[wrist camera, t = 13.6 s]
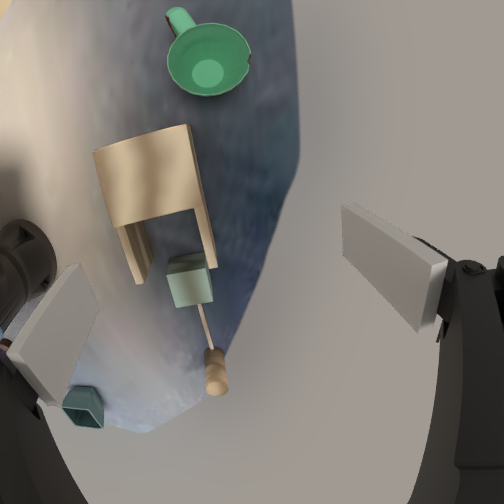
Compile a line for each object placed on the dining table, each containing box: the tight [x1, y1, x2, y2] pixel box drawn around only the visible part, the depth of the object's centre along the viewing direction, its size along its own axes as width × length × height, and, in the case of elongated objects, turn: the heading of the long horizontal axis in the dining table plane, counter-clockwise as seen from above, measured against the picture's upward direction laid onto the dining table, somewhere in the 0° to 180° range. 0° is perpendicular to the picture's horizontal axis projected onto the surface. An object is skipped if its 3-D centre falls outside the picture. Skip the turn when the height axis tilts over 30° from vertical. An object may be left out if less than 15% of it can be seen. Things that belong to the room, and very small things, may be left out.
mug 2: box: [165, 7, 251, 97], centre depth 30 cm, size 15×10×10 cm
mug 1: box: [0, 339, 12, 360], centre depth 44 cm, size 10×7×12 cm
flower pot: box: [60, 386, 104, 429], centre depth 53 cm, size 9×9×9 cm
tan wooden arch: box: [93, 124, 218, 285], centre depth 38 cm, size 12×19×10 cm, turn 10°
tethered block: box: [166, 252, 228, 396], centre depth 48 cm, size 6×25×10 cm, turn 7°
